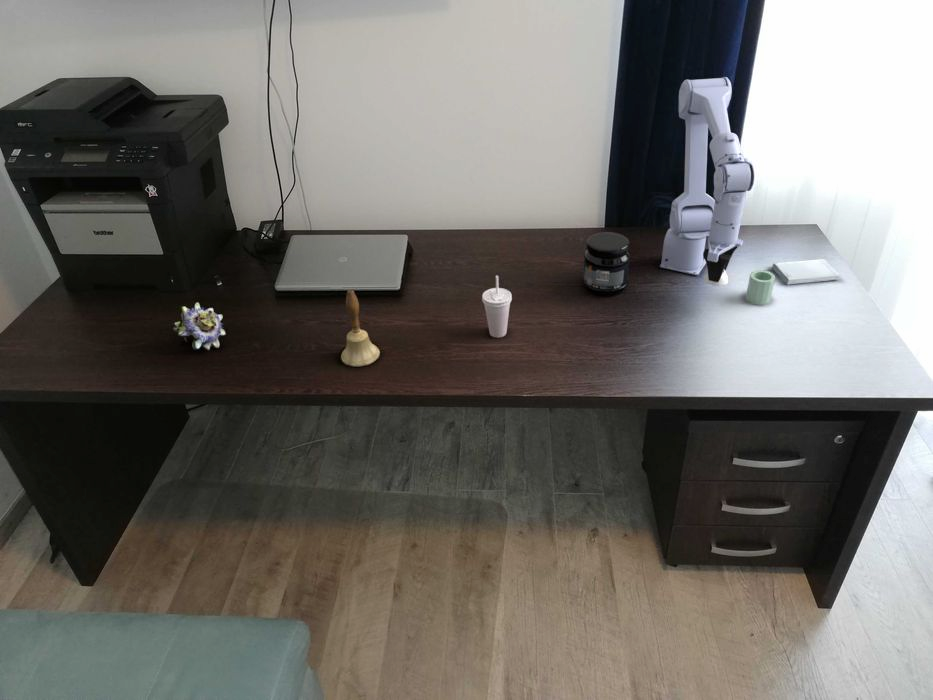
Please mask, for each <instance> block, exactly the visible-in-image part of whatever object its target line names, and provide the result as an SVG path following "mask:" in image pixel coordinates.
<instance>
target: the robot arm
mask: <svg viewBox="0 0 933 700" xmlns="http://www.w3.org/2000/svg"><path fill="white" fill-rule="evenodd" d="M732 89H733V88H732V83H731V80H730V79H729V78H728V77H727V76H723V77H716V78H715V77H714V78H702V79H684V80H683V82H682V83H681V85H680V87H679V90H678V91H679V92H678V117H679V118H680V119H682V120H684V122H685V146H684V147H685V149H684V151H685V152H684V153H685V154H684V181H683V182H684V184H683V185H684V187H683V192H682V193H681V194H680V195H679V196H678V197H676V198H675V199H674V200H672V202H671V209H670V214H669V228H668V229H667V231H666V234H665V236H664V239H663V247H662V252H661V253H662V254H661V262H660V264H659V268H662V269H666V270H671V271H674V272H680V273H684V274H689V275H693V276H699V275H700V273H701V272H702V270H703V269H704V268H705V266H706V268H707V273H708V278H709V281H714V282H719V280H720V278H721V276H722V273H723V270H725V272H726V270H727V268H728V266H729V264H730V261H731V258H732V257H733V255H734V253H735V251H736V250H737V249H738V248H741V247H742V246H743V244H744V240H743V239H739V234H740V230H741V229H740V228H741V222H742V218H743V212H744V207H745V202H746V196H747V192H750V191H751V190H752V189H753V187H754V183H755V168H754V164H753V163H752V162H751V161H750V160H749V159H748V158H747V157H745V156H744V153H743V149H742V146H741V143H740V140H739V137H738V135H737V133H734V132H731V125H730V121H729V114H728V108H729V105H730V101H731V99H732V93H733V91H732ZM709 133H710V135H711V138H712V139H711V141H710V143H709V150H710V154H711V158H712V162H713V165H714V169H715V171H714V173H713V187H714V188H713V189H714V190H713V197H712V195H711V196H710V195H709V194H708V193H706V192H707V191H706V190H707V166H708V165H707V164H708V140H709V139H708V138H709V137H708V136H709ZM706 241H707V242H706ZM706 243H707V245H708V248H706Z"/></svg>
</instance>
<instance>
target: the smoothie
mask: <svg viewBox="0 0 933 700" xmlns="http://www.w3.org/2000/svg"><path fill="white" fill-rule="evenodd" d="M499 285H500V283H499V275H495V287H492V288H489V289H486V290H485V291H483V292H482V295H481V301H482V303H483V306H484V311H485V316H486V322H487V327H488V331H489V335H490V336H491V337H493V338H503V337H505V336H506V335H507V331H508V324H509V323H508V322H509V316H510V315H509V314H510V306H511V302H512V300H513V297H512V296H513V295H512V292H511V291H510V290H508V289H506V288H502V287H499Z"/></svg>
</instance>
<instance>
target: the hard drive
mask: <svg viewBox="0 0 933 700" xmlns="http://www.w3.org/2000/svg"><path fill="white" fill-rule="evenodd" d="M771 268H772V270H773V271H774V272H775V273H776V275H777V276H778V277H779V278H780V279H781V281H783V282H784V284H786V285H797V284H808V283H819V282H828V281H839V280H840V277H841V274H840V273H839V272H838V271H837V270H836V269H835V268H834V267H833V266H831V265H830V264H829V262H827V260H825V259H824V258H820V259H809V260H797V261H787V262H786V261H785V262H774V263H772V267H771Z"/></svg>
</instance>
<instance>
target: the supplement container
mask: <svg viewBox="0 0 933 700" xmlns="http://www.w3.org/2000/svg"><path fill="white" fill-rule="evenodd" d="M629 249H630V241H629V239H628V238H627V237H626V235H625V236H624V235H623V234H621V233H617V232H612V231H603V232H597V233H594V234H592V235H590V236H589V237H588V238H587V240H586V249H585V251H584V253H583V259H584V261H583V265H584V267H583V278H582V283H583V286H584V288H585V289H586V290H587V291H589V292H590V293H592V294H595V295H599V296H615V295H617V294H620V293H622V292H624V291H625V290H626V288H627V286H628V282H629V281H628V279H629V269H630V268H629V267H630V259H631V253H630V251H629Z"/></svg>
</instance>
